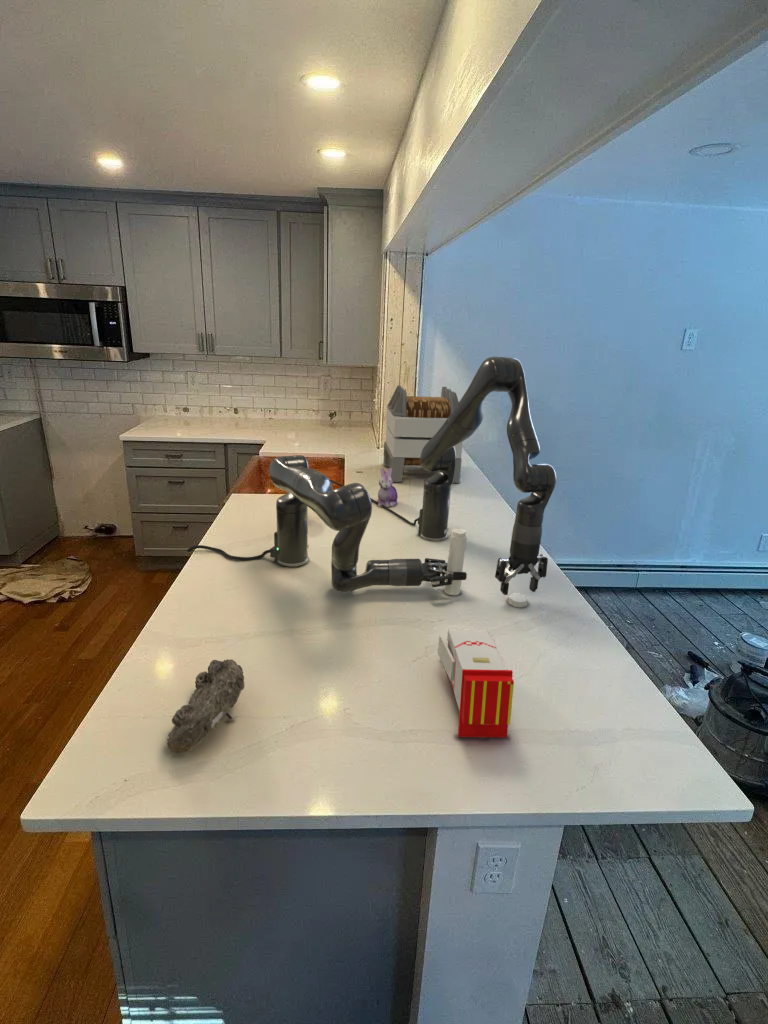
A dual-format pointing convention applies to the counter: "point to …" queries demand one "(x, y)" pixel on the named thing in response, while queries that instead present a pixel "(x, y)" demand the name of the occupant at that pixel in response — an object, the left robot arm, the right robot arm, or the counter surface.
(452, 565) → the white cylindrical bottle
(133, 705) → the counter surface
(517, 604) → the lid
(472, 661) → the toy
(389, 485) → the figurine
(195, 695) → the fossil
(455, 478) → the grey wooden box
